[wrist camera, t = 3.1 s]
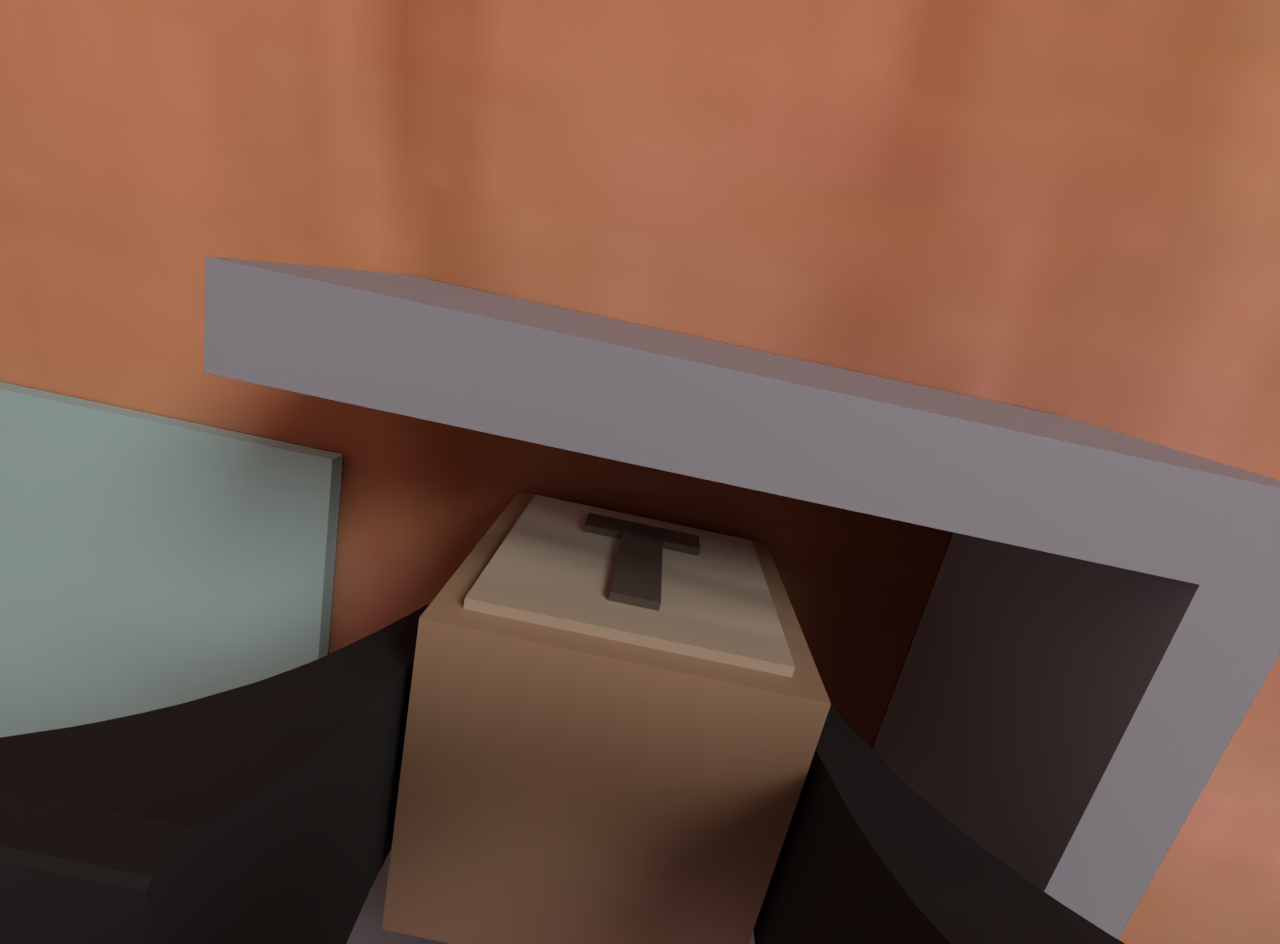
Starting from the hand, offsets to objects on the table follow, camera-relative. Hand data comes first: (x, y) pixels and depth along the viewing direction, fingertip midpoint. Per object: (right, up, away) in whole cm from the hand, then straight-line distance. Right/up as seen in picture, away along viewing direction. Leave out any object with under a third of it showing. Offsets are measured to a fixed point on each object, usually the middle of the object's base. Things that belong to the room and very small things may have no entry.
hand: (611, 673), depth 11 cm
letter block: (0, 0, +2) cm, 2 cm away
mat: (-11, -1, +2) cm, 11 cm away
